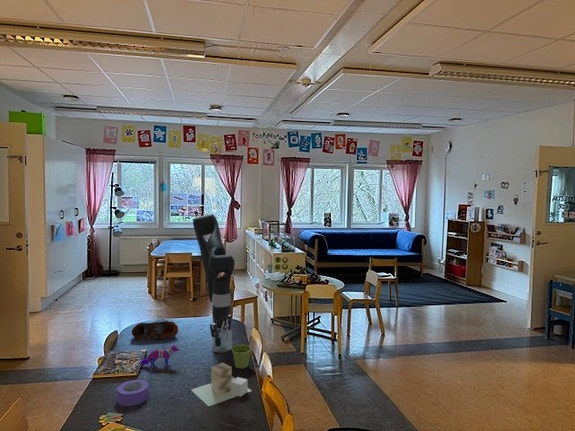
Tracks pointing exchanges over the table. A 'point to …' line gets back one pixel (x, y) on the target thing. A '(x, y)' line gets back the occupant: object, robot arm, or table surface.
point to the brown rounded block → (154, 330)
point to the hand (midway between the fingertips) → (221, 343)
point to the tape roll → (132, 392)
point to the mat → (212, 394)
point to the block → (239, 386)
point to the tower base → (221, 387)
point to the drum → (223, 338)
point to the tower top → (221, 373)
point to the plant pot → (241, 355)
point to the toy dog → (159, 356)
